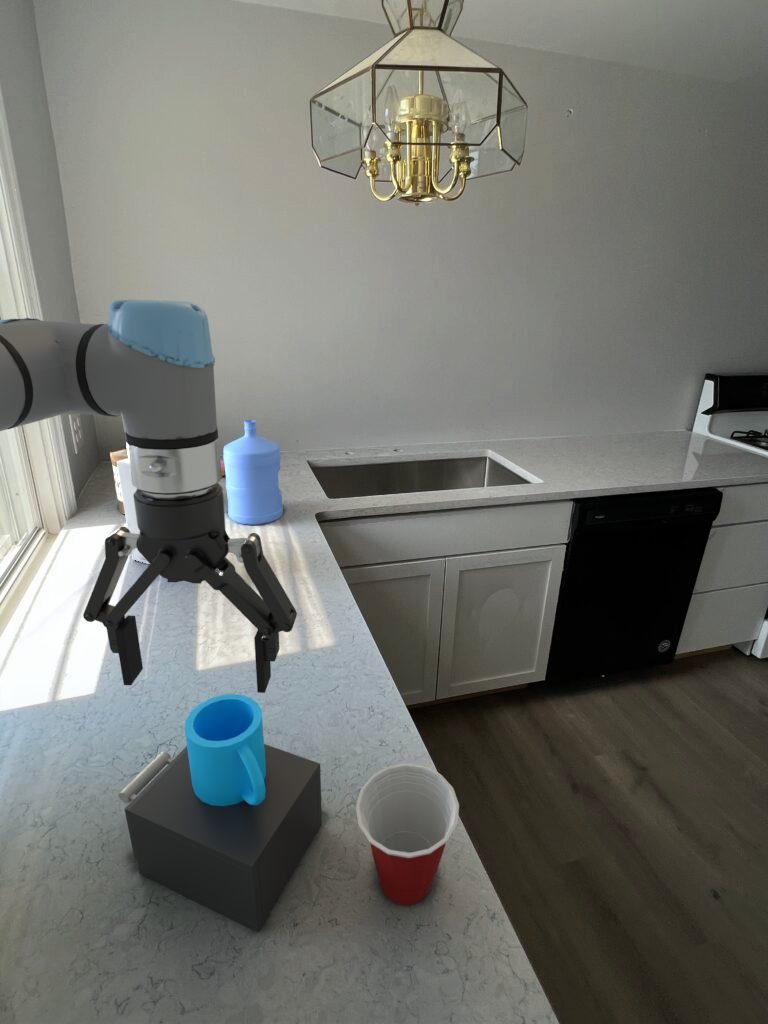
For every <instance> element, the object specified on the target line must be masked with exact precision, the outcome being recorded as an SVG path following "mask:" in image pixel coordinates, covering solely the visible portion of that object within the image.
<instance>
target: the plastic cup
mask: <svg viewBox="0 0 768 1024" xmlns="http://www.w3.org/2000/svg"><path fill="white" fill-rule="evenodd" d="M355 811H356V816H357V824H358V827H359V829H360V830H361V831H362V833H363V834H364V835H365V836H366V838H367V840H368V842H369V844H370V845H369V846H370V849H371V854H372V857H373V862H374V867H375V870H376V871H375V872H377V877H378V881H379V882H378V883H379V887H381V890H382V892H383V893H384V895H385V896H386V898H388V899H389V900H390V901H392V902H393V903H395V904H397V905H401V906H412V905H416V904H418V903H419V902H421V901H422V900H424V899H425V897H426V896H427V894H428V893H429V891H430V889H431V888H432V886H433V881H434V879H435V876H436V874H437V872H438V869H439V866H440V863H441V859H442V858H443V857H442V856H443V854H444V850H445V847H446V845H447V843H448V841H449V839H450V837H451V836H452V834H453V832H454V831H455V829H456V827H457V826H458V823H459V811H460V803H459V801H458V797H457V795H456V792H455V788H454V786H452V785H451V784H450V783H449V782H448V781H447V779H446V778H445V777H444V776H443V775H442V774H441V773H439V772H437V771H436V770H434V769H432V768H430V767H428V766H426V765H422V764H415V763H408V762H405V763H404V762H403V763H399V764H394V765H389V766H385V767H383V768H382V769H381V770H379V771H377V772H375V773H374V774H372V775H371V776H370V777H369V779H367V781H366V782H365V784H364V785H363V786H362V787H361V788H360V791H359V795H358V798H357V801H356V804H355ZM420 900H421V901H420ZM417 902H418V903H417ZM411 904H412V905H411Z"/></svg>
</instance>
